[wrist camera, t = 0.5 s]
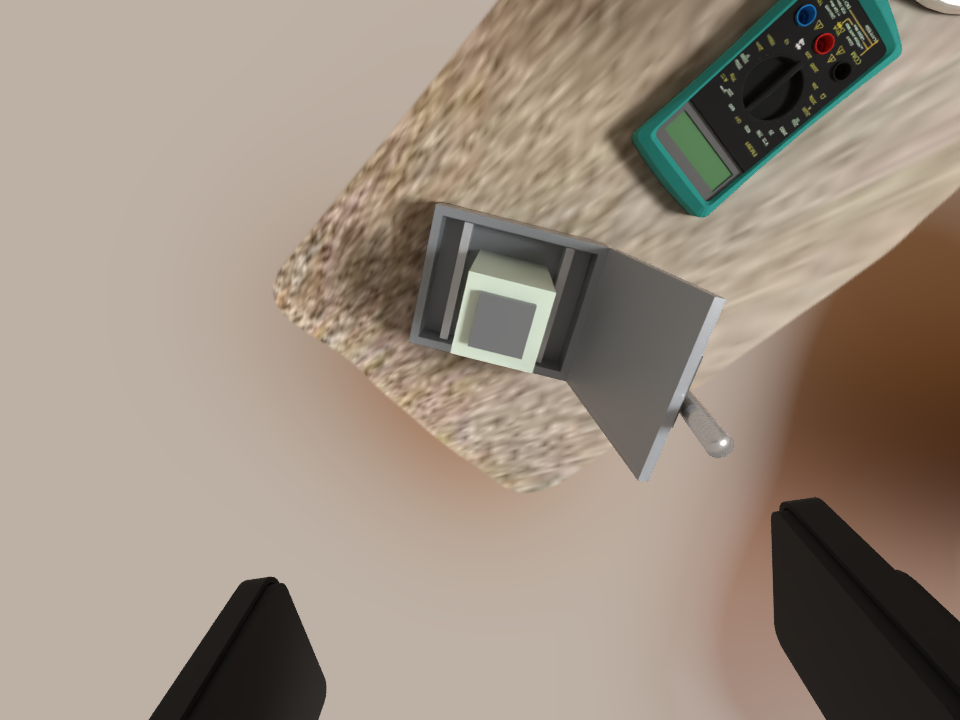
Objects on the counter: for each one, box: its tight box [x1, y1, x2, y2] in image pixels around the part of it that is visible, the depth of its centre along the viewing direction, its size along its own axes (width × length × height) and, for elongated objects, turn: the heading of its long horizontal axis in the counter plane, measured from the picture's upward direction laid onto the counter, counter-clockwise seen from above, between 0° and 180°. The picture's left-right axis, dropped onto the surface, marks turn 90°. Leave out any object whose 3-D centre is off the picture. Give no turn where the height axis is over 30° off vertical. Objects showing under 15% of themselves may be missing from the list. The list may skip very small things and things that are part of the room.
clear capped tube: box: [679, 388, 734, 458], centre depth 30 cm, size 2×2×17 cm
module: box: [450, 249, 556, 373], centre depth 32 cm, size 5×5×10 cm
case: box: [409, 202, 610, 381], centre depth 36 cm, size 10×12×3 cm
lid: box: [566, 248, 726, 482], centre depth 29 cm, size 10×12×1 cm
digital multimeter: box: [632, 0, 902, 217], centre depth 31 cm, size 7×15×3 cm, turn 133°
